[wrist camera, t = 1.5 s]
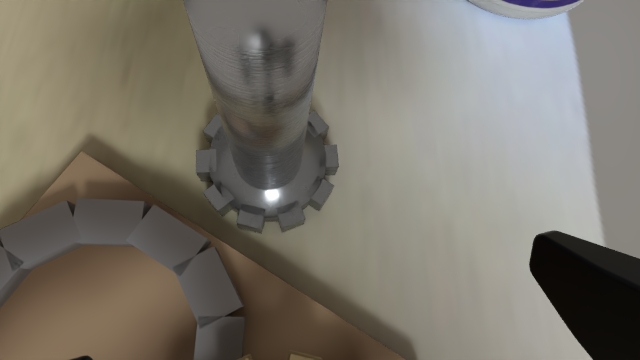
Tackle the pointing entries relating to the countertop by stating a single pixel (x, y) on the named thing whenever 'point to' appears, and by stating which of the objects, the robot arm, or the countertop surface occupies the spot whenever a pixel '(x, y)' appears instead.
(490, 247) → the countertop surface
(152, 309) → the gear board
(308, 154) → the gear
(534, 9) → the supplement tub
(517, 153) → the countertop surface
